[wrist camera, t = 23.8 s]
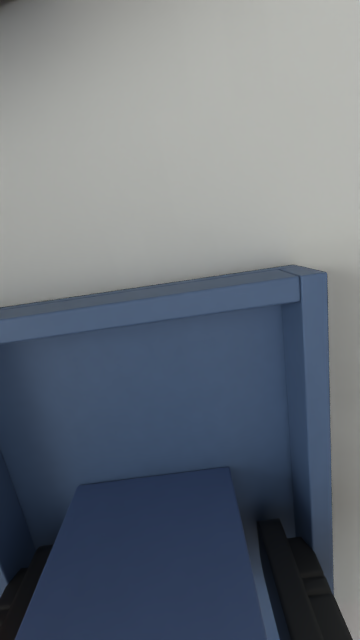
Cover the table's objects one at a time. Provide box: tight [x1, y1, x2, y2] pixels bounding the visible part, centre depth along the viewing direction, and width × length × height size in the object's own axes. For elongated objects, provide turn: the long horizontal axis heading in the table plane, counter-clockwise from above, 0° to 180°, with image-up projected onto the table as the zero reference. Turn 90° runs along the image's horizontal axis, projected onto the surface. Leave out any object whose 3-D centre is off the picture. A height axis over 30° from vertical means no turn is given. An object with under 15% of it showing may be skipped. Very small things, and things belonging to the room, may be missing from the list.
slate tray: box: [0, 265, 334, 640], centre depth 10 cm, size 10×17×2 cm, turn 8°
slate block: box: [15, 467, 268, 640], centre depth 8 cm, size 5×5×5 cm
